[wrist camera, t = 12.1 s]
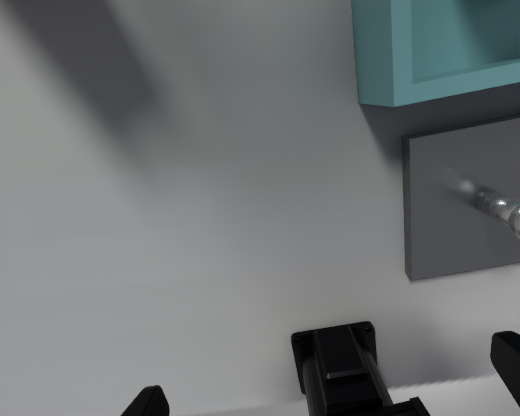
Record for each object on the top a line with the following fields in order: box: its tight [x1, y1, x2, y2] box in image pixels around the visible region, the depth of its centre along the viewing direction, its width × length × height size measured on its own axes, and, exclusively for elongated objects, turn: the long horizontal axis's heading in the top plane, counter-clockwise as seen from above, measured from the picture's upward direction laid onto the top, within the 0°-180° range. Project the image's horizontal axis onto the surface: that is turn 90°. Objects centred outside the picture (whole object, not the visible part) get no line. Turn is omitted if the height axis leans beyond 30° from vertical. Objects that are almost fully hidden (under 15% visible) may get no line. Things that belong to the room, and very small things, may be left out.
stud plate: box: [402, 114, 520, 280], centre depth 18 cm, size 10×10×5 cm
